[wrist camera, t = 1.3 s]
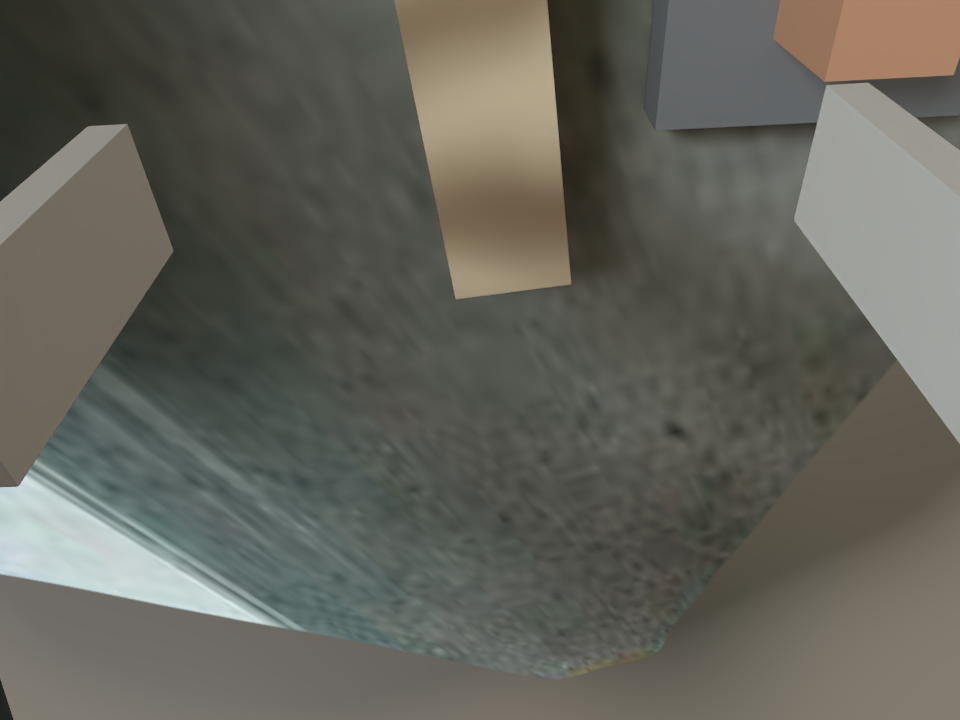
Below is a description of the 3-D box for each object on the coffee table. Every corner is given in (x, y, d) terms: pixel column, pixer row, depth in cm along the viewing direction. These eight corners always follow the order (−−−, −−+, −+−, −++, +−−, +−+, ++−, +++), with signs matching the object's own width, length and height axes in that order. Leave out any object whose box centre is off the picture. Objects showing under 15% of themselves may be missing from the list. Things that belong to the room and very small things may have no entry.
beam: (560, 228, 34) (571, 284, 31) (458, 242, 35) (455, 299, 31) (499, -439, 21) (505, -492, 17) (334, -403, 21) (302, -446, 18)
